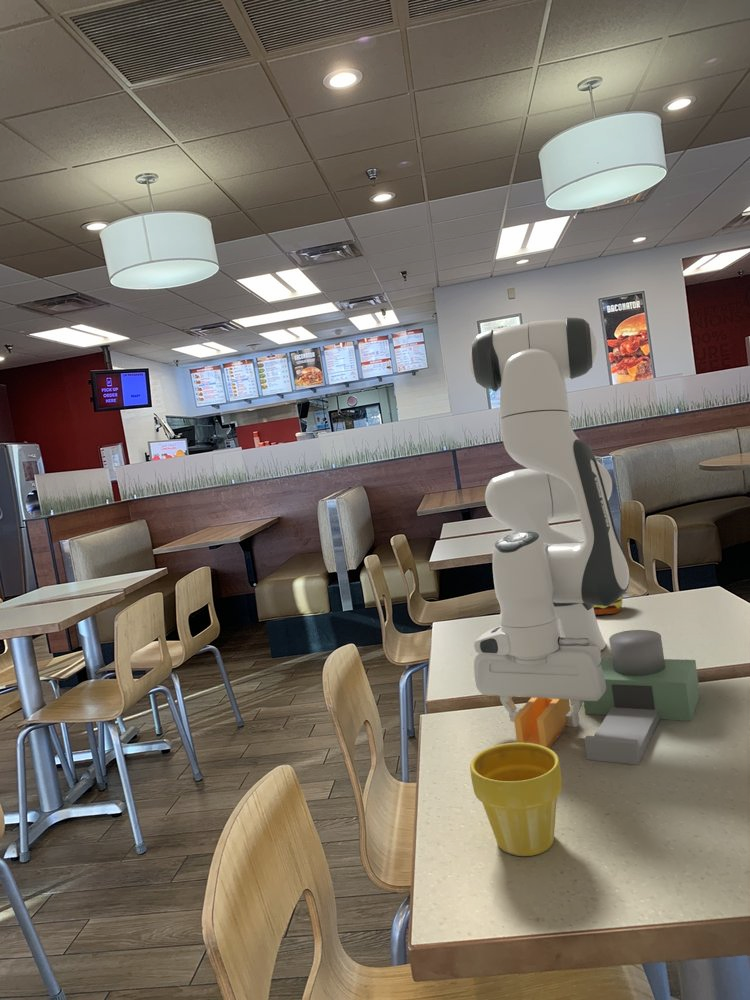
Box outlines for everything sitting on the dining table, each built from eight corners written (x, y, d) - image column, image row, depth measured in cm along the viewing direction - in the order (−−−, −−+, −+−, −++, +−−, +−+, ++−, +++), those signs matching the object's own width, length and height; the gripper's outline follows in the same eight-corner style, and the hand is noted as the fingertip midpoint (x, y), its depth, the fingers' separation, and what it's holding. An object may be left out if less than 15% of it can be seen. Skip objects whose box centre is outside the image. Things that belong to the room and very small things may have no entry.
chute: (518, 749, 106) (513, 717, 105) (544, 717, 116) (539, 688, 115) (547, 752, 103) (542, 720, 103) (571, 719, 113) (567, 689, 113)
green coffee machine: (556, 756, 101) (545, 683, 100) (601, 690, 122) (592, 629, 121) (673, 768, 92) (662, 688, 92) (700, 695, 113) (691, 630, 113)
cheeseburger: (570, 613, 172) (571, 573, 173) (604, 613, 177) (605, 574, 177) (598, 619, 163) (600, 576, 163) (633, 619, 167) (635, 577, 168)
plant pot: (550, 808, 88) (538, 734, 87) (586, 853, 78) (573, 769, 77) (471, 827, 86) (459, 752, 86) (498, 876, 76) (484, 791, 76)
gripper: (604, 631, 105) (616, 719, 106) (480, 630, 116) (493, 710, 117) (593, 645, 100) (606, 737, 101) (464, 643, 111) (477, 726, 112)
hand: (544, 722), depth 109 cm, fingers open, 8 cm apart
